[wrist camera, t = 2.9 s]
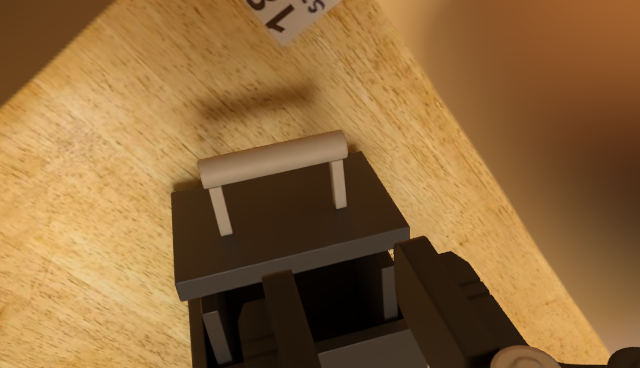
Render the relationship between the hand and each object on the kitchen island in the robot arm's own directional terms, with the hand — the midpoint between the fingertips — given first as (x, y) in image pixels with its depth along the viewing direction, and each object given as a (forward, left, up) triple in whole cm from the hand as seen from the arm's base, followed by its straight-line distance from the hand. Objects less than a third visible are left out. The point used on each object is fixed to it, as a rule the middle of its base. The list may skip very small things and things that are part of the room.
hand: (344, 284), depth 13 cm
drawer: (+12, 0, -18) cm, 22 cm away
